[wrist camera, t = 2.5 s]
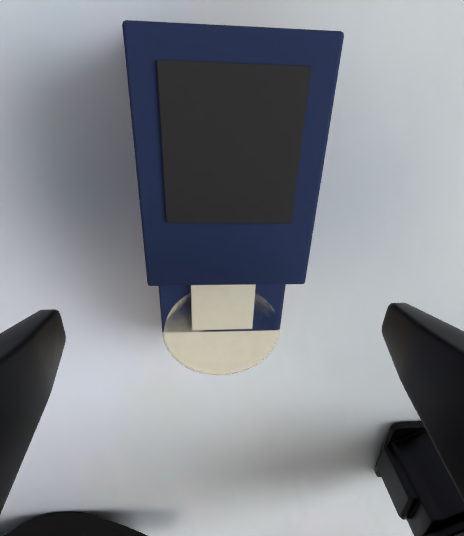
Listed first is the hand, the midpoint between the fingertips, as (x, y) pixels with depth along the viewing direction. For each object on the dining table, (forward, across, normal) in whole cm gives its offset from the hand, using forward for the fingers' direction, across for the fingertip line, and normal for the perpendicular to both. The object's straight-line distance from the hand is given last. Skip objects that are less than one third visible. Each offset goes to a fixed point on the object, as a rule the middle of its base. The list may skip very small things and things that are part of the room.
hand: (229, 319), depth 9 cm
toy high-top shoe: (+9, 0, 0) cm, 9 cm away
